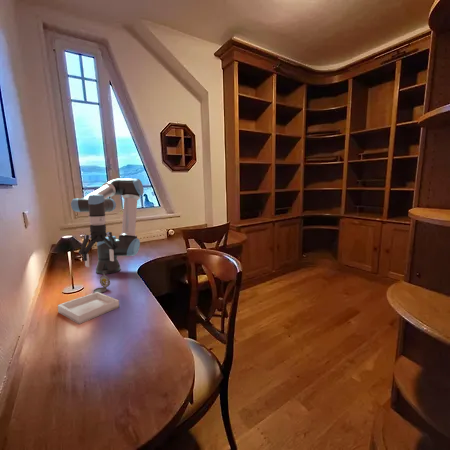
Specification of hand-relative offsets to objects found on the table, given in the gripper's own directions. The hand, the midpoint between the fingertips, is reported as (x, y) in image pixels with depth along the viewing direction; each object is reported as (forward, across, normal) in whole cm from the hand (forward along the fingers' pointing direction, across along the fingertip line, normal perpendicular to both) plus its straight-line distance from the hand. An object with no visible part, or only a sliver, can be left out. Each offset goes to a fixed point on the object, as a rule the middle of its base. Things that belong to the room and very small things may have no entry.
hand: (100, 263), depth 134 cm
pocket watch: (+15, 0, 0) cm, 15 cm away
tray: (+15, -16, -17) cm, 28 cm away
